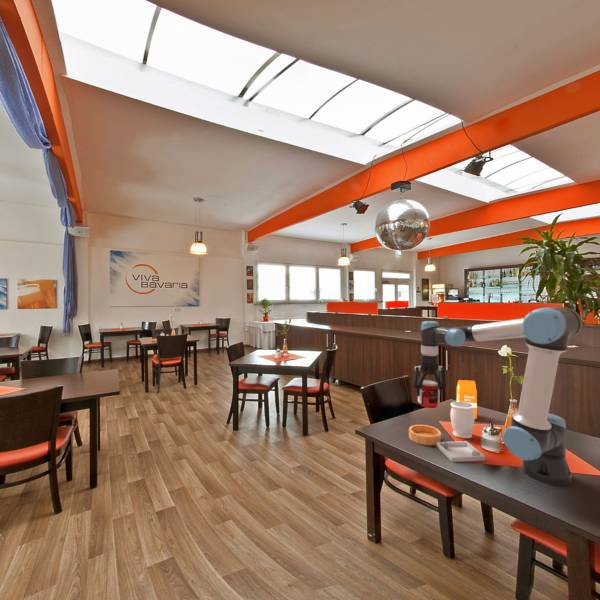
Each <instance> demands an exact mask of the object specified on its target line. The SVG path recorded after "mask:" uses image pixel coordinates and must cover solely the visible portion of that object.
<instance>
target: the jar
mask: <svg viewBox="0 0 600 600" xmlns="http://www.w3.org/2000/svg"><path fill="white" fill-rule="evenodd" d="M450 406H451V408H450V422H451V427H452V430H453V431H452V435H453V436H455V437H458V438H461V439H471V438H472V437H473V434H472V432H473V430H474V426H475V421H476V419H475V416H474V411H473V409H474V408H475V406H474V405H473V404H470V403H467V402H457V401H452V402H450Z"/></svg>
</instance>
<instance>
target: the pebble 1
mask: <svg viewBox="0 0 600 600" xmlns="http://www.w3.org/2000/svg"><path fill="white" fill-rule="evenodd" d="M441 442H442V443H441V446H442V447H443V448H444V449H447V448H448V444H447V442H448V441H441Z"/></svg>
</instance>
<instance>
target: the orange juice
mask: <svg viewBox="0 0 600 600" xmlns="http://www.w3.org/2000/svg"><path fill="white" fill-rule="evenodd" d="M476 387H477V385H476V381H475V380H467V379H465V380H462V379H458V381H457V385H456V402H467V403H470V404H473V405H474V406H475V408H474V409H473V411H474V416H475V420H476V419H477V417H478V412H477V411H478V409H477V408H478V404H477V403H478V400H477V399H478V398H477V397H478V391H477V388H476Z"/></svg>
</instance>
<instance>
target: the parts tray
mask: <svg viewBox="0 0 600 600" xmlns="http://www.w3.org/2000/svg"><path fill="white" fill-rule="evenodd" d="M442 442H443V441H441V442H436V445H435V446H436V448H437V449H439V451H440V452H441V453H443V454H444V456H446V458H448V460H450V461H451V463H452V462H453V463H456V462H457V463H459V462H486V456H485V455H484V453H482V452H480V450H478V449H477V448H476V447H474V446H473V445H472V444H471V443H469V442H468V441H467V440H464V441H462V440H461V441H446V442H447V444H448V448H447V449H444V448H443V447H442V446H441V443H442ZM474 450H476V451H478V452H479V453H480V456H472V451H474Z"/></svg>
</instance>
